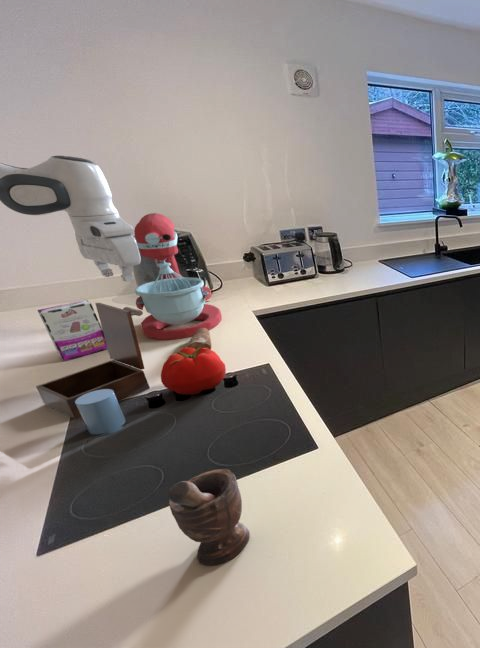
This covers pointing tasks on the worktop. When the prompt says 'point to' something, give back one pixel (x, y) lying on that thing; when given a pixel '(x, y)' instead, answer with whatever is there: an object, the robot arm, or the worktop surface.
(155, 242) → the stand mixer
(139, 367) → the lid
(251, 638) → the worktop surface
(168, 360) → the tomato
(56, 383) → the brown wooden box
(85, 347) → the candy bar box
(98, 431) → the canister
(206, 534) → the mortar and pestle
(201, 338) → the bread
